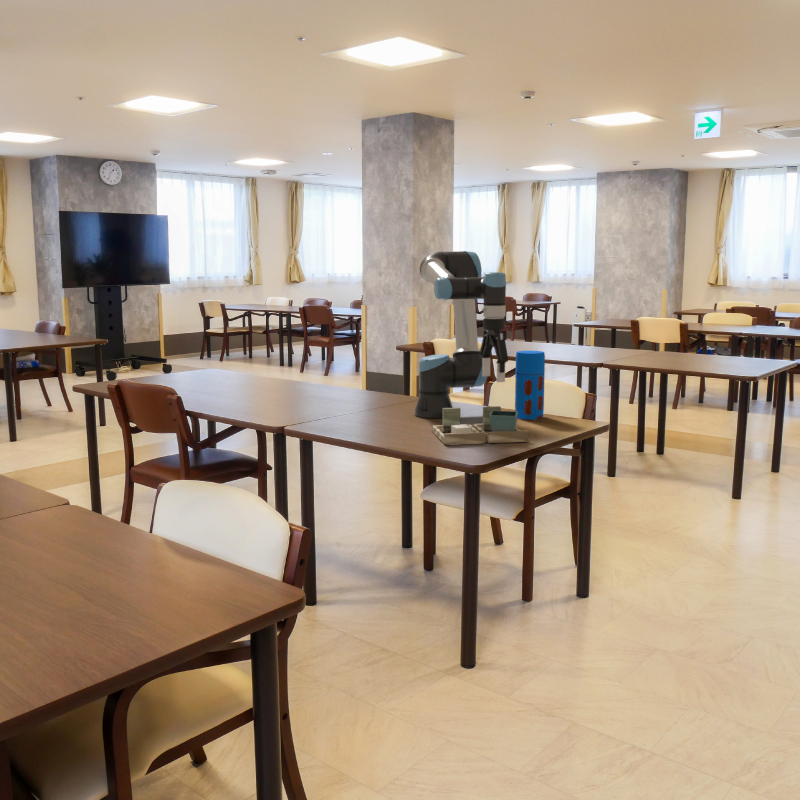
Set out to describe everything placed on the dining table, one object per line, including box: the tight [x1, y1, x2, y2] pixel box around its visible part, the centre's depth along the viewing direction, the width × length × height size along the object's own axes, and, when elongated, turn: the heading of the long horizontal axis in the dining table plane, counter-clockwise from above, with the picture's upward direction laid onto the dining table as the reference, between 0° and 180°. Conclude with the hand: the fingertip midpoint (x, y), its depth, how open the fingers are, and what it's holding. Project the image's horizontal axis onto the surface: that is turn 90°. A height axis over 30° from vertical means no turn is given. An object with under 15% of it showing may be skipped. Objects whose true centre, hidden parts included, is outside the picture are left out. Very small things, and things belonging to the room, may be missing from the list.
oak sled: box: [471, 406, 530, 444], centre depth 283 cm, size 23×14×8 cm, turn 8°
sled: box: [431, 407, 487, 446], centre depth 281 cm, size 23×14×8 cm, turn 8°
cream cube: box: [450, 425, 471, 433], centre depth 277 cm, size 5×5×5 cm
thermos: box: [514, 350, 546, 421], centre depth 317 cm, size 11×11×25 cm
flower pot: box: [490, 410, 518, 432], centre depth 278 cm, size 9×9×9 cm
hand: (493, 379), depth 289 cm, fingers open, 13 cm apart
